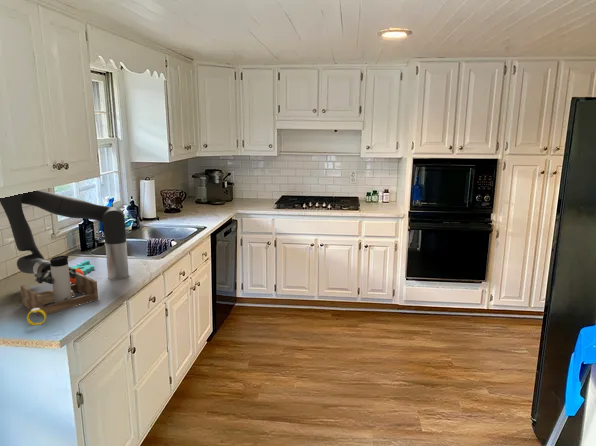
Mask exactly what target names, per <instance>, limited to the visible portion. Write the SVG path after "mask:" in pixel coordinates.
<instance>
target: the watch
mask: <svg viewBox="0 0 596 446" xmlns="http://www.w3.org/2000/svg"><path fill="white" fill-rule="evenodd" d="M35 312H41V313H42V314H43V315H44V316H43V321H42V322H41V321H40V322H33V321H31V319H30V314H31V313H35ZM46 320H47V315H46V313H45V312H44V311H43V310H40V308H34V309H32V310H30V311H29V312H28V314H27V315H26V321H27V322H28V324H30V326H36V325H37V326H39V325H43V324H44V323H45V321H46Z"/></svg>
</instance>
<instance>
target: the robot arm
mask: <svg viewBox="0 0 596 446" xmlns="http://www.w3.org/2000/svg"><path fill="white" fill-rule="evenodd" d="M36 190H37V191H33V192H28V193H23V194H18V195H14V196H10V197H5V198H0V205H1V206H2V209H3V210H4V213H5V215H6V217H7V220H8V222H9V225H10V229H11V232H12V235H13V240H14V242H15V245H16V249H17V250H18V251H19V252H26V251H27V252H28V251H30V252H31V253H30V254H27V255H24V256H21V257H19V258H18V259H17V261H16V267H17V269H18V270H19V271H20V272H21V273H23V274H33V276H34V281H35V282H37V283H38V284H39V285H40V284H43V282H44V283H49V284H52V285H53V280H52V274H51V266H50V265H51V263H50V260H46V259H45V258H44V255H43V254H42V253H41V251H40V250H39V248H38V246H37V244H36V242H35V239H34V235H33V232H32V229H31V226H30V224H29V222H28V221H27V219H26V215H25V213H24V211H23V205H29V206H34V207H35V208H38V209H41V210H44V211H46V212H49V213H50V214H53V215H57V216H60V217H66V218H71V219H84V220H85V219H87V220H92V221H97V222H99V223H100V222H101V223H102V224H103V235H104V242H105V243H104V244H105V254H106V264H107V265H106V270H107V278H108V279H110V280H122V279H123V280H124V279H126V278H128V277H129V261H128V259H129V258H128V248H127V233H126V231H127V230H126V221H125V220H126V219H125V212H123V211H122V210H121V209H120V208H118V207H115V206H108V205H107V206H106V205H101V204H100V205H99V204H95V203H92V202H89V201H87V200H86V201H85V200H83V199H79V198H76V197H72V196H68V195H64V194H60V193H55V192H49V191H45V190H40V189H36ZM69 276H70V277H71V278H73V279H74V278H75V277H76V271H75V269H74V268H71V266H69Z"/></svg>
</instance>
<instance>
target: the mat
mask: <svg viewBox="0 0 596 446" xmlns="http://www.w3.org/2000/svg"><path fill="white" fill-rule="evenodd" d="M27 287H28V288H30V289H31V290H33V291H35V292H36V293H41V292H45V291H49V290H53V284H49V283H45V282H44V283H41V284H40V283H39V284H36V285H32V286H27Z"/></svg>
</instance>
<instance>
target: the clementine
mask: <svg viewBox="0 0 596 446" xmlns="http://www.w3.org/2000/svg"><path fill="white" fill-rule="evenodd" d="M74 269H75V271H76V272H78V273H80V274H82V275H84V276H85V274H84V273H83V271H82V270H80V269H77V268H74ZM70 284H76V283H75V278H74V279H73V278H71V277H70Z"/></svg>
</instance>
